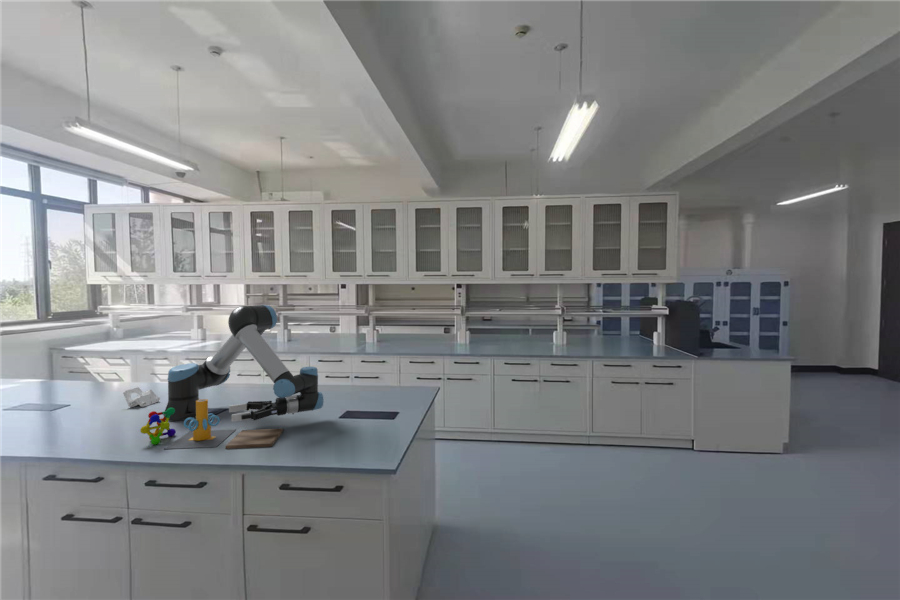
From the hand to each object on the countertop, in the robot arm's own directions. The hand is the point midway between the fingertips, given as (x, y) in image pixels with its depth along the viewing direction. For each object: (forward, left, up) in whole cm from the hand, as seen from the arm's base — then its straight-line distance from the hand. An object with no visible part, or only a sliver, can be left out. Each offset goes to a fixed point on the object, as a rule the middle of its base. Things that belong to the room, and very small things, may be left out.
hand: (230, 413), depth 158 cm
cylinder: (+4, -9, -8) cm, 13 cm away
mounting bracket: (-49, -61, -9) cm, 79 cm away
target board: (+7, +12, -8) cm, 17 cm away
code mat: (+4, -9, -8) cm, 13 cm away
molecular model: (+3, -25, -9) cm, 27 cm away
